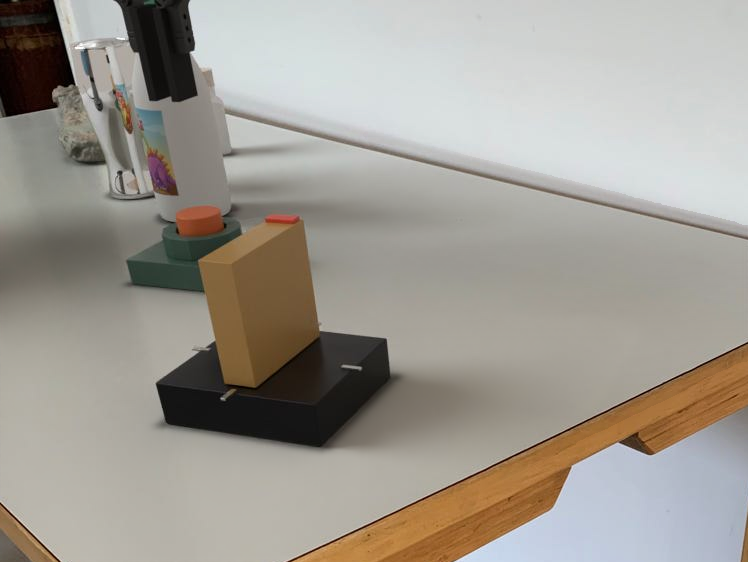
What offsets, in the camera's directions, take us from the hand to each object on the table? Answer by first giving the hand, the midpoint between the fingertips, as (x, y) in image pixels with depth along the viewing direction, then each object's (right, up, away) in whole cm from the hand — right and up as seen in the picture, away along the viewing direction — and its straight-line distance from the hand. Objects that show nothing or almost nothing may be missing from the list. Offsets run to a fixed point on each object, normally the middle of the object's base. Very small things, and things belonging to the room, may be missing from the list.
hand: (173, 97), depth 82 cm
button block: (+1, -11, +9) cm, 14 cm away
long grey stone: (-28, +25, +56) cm, 68 cm away
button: (0, -8, +7) cm, 11 cm away
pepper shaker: (-9, +18, +45) cm, 49 cm away
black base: (+12, -28, -13) cm, 33 cm away
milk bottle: (-5, +1, +24) cm, 25 cm away
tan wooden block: (+11, -26, -14) cm, 32 cm away
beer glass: (-14, +7, +32) cm, 36 cm away
